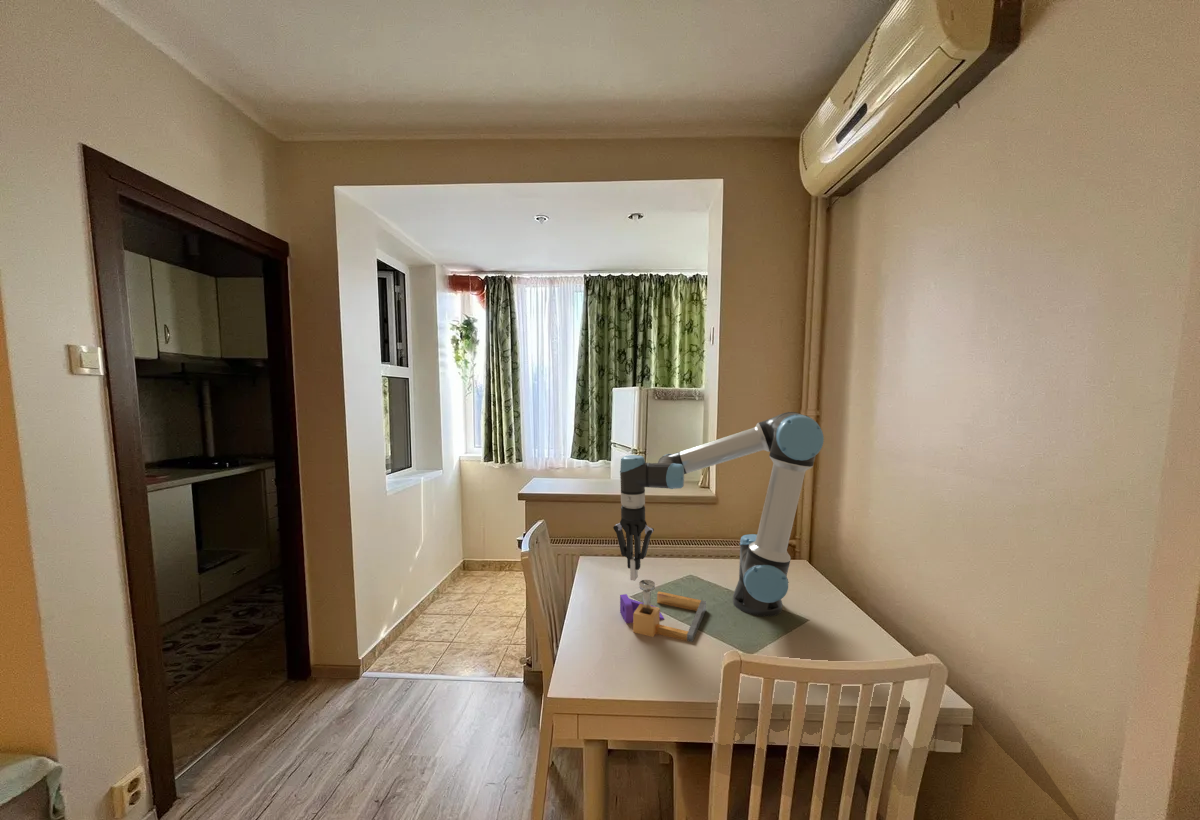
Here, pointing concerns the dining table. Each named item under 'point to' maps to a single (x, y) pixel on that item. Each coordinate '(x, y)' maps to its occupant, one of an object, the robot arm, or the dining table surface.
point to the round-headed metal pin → (647, 594)
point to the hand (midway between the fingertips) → (634, 578)
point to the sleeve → (646, 621)
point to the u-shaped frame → (687, 604)
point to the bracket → (629, 608)
